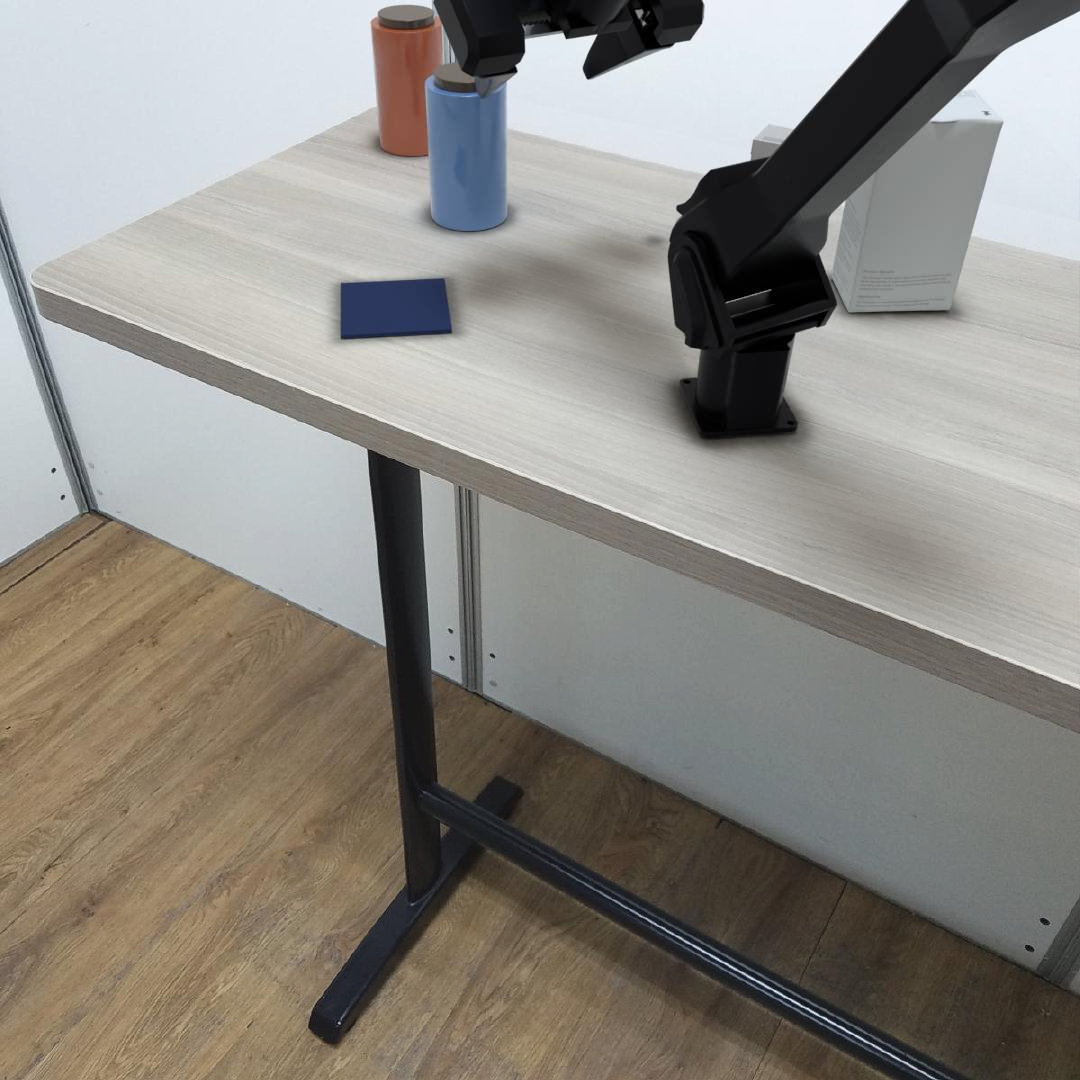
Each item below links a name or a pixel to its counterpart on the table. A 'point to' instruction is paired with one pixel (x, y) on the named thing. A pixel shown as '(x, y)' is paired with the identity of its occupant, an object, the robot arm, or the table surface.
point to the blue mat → (394, 308)
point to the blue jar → (466, 151)
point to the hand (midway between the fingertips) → (534, 83)
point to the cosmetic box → (918, 214)
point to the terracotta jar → (404, 74)
